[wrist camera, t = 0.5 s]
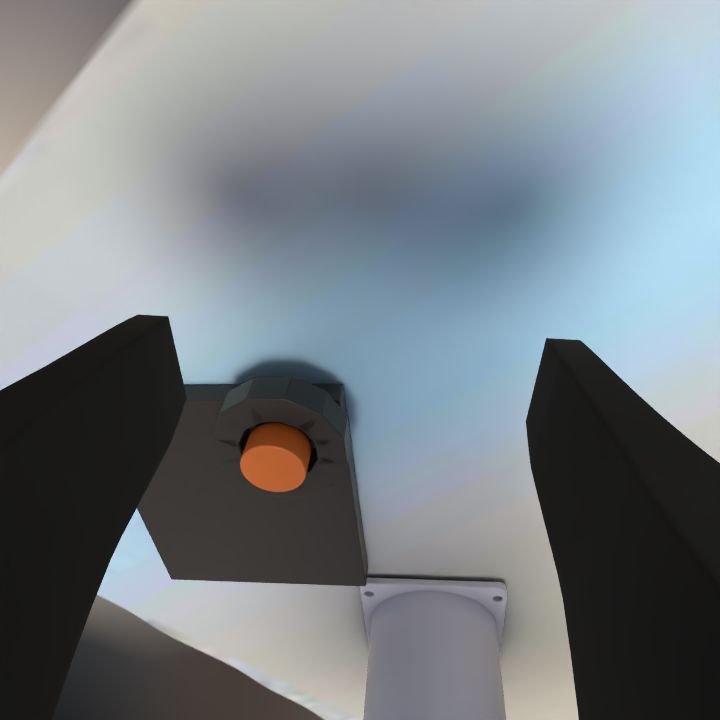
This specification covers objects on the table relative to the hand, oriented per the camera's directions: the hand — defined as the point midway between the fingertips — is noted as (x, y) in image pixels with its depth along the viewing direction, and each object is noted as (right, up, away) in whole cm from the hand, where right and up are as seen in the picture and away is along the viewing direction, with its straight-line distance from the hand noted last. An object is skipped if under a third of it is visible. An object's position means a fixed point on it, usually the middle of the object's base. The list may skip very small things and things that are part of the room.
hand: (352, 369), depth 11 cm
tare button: (-3, -3, +12) cm, 13 cm away
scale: (-5, -6, +17) cm, 19 cm away
